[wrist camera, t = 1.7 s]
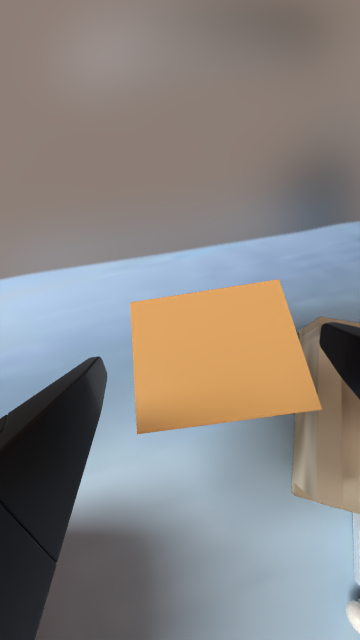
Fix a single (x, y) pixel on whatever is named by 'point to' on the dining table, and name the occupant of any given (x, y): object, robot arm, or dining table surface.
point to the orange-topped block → (218, 358)
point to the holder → (327, 432)
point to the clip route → (355, 576)
